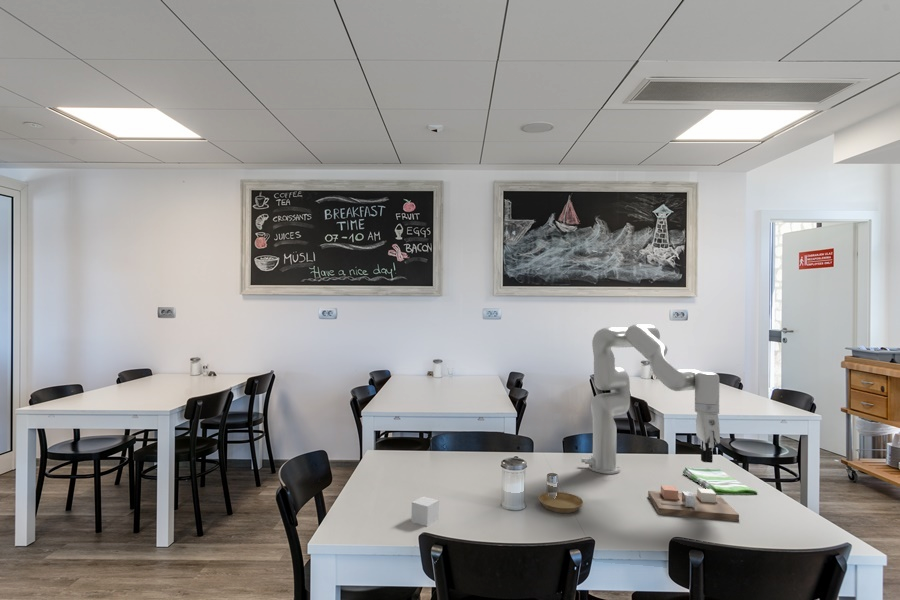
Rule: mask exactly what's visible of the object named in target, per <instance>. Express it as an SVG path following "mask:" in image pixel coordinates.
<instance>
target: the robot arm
mask: <svg viewBox="0 0 900 600" xmlns="http://www.w3.org/2000/svg"><path fill="white" fill-rule="evenodd" d="M660 339H661V333H660V331H659V329H658V328H657V327H656V326H654V325H653V324H646V323H644V324H643V323H641V324H640V323H639V324H638V323H636V324H632V325H630V326H627V327H625V326H623V327H621V326H619V327H618V326H607V327H602V328H600V329H599V330H597V331H596V332H595V333H594V335H593V338H592V340H591V341H592V342H591V344H592V345H591V346H592V352H593V354H592V355H593V382H594V386H595V388H597V389H598V390H599V391H600V390H601V391H610V392H603V393H599V394H596V395H595V396H593V397H592V399H591V401H590V410H591V411H590V412H591V416H592V455H591V456H590V457H588V458H587V457H581V458H580V461H581V463H584V464H585V465H586V464H587V465H588V469H589V470H590V471H593V472H595V473H599V474H606V475H607V474H608V475H612V474H614V475H615V474H618V473H620V472H621V468H620V466H619V465H617V437H618V436H617V423H616V422H615V419H614V417H615V416H621V415H624V414H626V413H628V412H629V409H630V406H631V391H630V390H631V387H630V384H631V383H630V381H631V380H630V377H629V374H628V372H627V371H626V369H624V368H622V367H620V366H616V363H615V359H616V358H615V355H614V352H613V350H612V349H613V348H634V349H635V350H636V351H638V353H640V354H641V355H642V356H643V357H644V358H645V359H646V360H647V361H648V362H649V366H650V369H651V371H652V374H653V376H655V378H656V379H658V380H659V381H660V382H661V384H663V385H664V386H665V387H666V388H668V390H669V389H670V390H671V391H674V392H685V391H694V412H695V413H696V424H695V425H696V426H695V427H696V428H695V429H696V431H695V432H696V433H695V434H696V437H697V438H698V439H699V441H700V448H701V449H700V461H701V462H703V463H710V464H712V463H713V451H714V448H715V443H716V444H717V445H719V444H720V442H721V436H720V435H721V433H720V419H719V414H720V375H719V374H718V373H717V372H713V371H701V370H698V369H693V368H684V369H683V368H681V369H677V368H675V367H674V366H673V365H672V364H671V363H670V362H668V360H667V359H666V355H667V354H668V347H667V345H666V344H665V343H663V342H662V341H661V340H660Z"/></svg>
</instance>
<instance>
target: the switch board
mask: <svg viewBox="0 0 900 600" xmlns="http://www.w3.org/2000/svg"><path fill="white" fill-rule="evenodd" d="M693 494H694V495H695V507H686V506H685V505H684V504H683V503H682V492H681V493H680V492H678V500H675V499H664V498H663V496H662V495H661V491H658V490H657V491H654V490H648V492H647V496H648V499H649V501H650V502H651V501H652V502H651V504H652V505H653V506H655V507H654V508H655V510H656V511H657V513H658V514H659V515H664V516H674V515H675V517H676V516H677V517H688V518H698V519H699V518H700V519H710V520H711V519H712V520H720V521H721V520H723V521H733V522H735V521H736V522H739V521H740V514H739V513H738V512H737V511H736V510H735V509H734V507H732V506H731V505H730V504H729V503H728V502H727V501H726V500H725V499H724V498H723V497H722V496H720V495H719V496H718V495H716V503H712V502H701V501H700V499H699V498H698V497H697V494H695V493H693Z"/></svg>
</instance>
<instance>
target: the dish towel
mask: <svg viewBox="0 0 900 600" xmlns="http://www.w3.org/2000/svg"><path fill="white" fill-rule="evenodd" d="M682 474H683V475H685V476H686V475H687V476H688V479H690V478H691V479H690V480H692V479H693V480H694V481H693V480H692V481H693V482H695V481H696V482H698V483H699V484H698V483H697V484H698V485H700V484H701V485H702V486H703V487H702V486H701V485H700V486H701V487H702V488H704V487H705V488H707V489H712V490H713V491H714V492H715V493H716V495H758V491H756V490H754V489H752V488H751V487H750V486H747V485H745V484H744V483H742V482H740V481H739V480H737V479H735V478H734V477H731V476H730V475H729V474H727V473H726V472H725V471H723V470H722V469H721V468H699V467H689V466H685V467H684V469H683V470H682ZM687 476H686V477H687ZM696 482H695V483H696ZM705 488H704V489H705ZM753 493H754V494H753Z"/></svg>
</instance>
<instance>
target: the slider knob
mask: <svg viewBox="0 0 900 600" xmlns="http://www.w3.org/2000/svg"><path fill="white" fill-rule="evenodd" d="M681 493H682V503H683V504H684V505H685V506H686V507H695V495H696V494H695V493H693V491H688V490H687V491H685V490H681ZM694 494H695V495H694Z"/></svg>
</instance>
